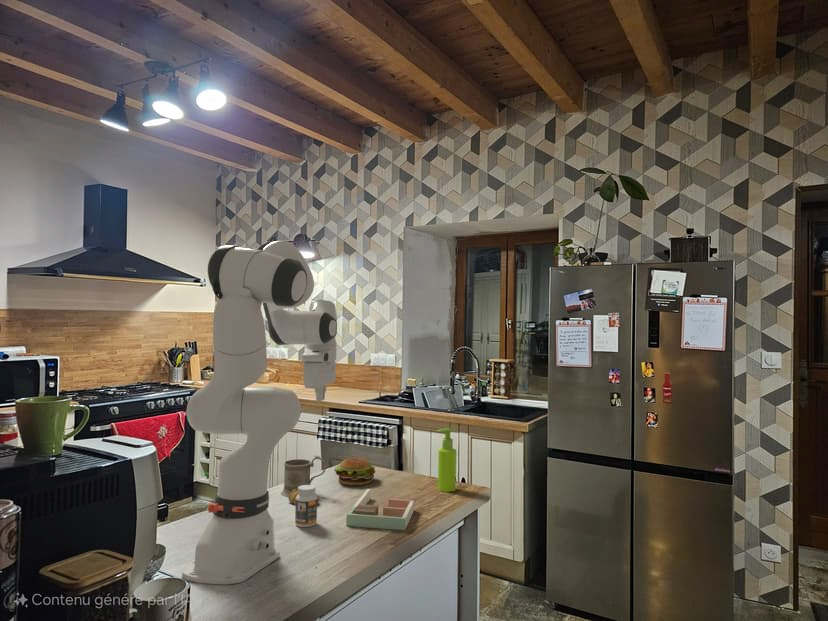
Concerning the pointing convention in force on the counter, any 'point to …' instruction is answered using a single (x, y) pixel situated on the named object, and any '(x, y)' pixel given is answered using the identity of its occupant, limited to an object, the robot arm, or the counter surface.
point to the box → (392, 516)
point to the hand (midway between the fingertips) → (320, 400)
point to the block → (366, 509)
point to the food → (355, 471)
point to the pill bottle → (306, 506)
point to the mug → (298, 474)
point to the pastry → (294, 494)
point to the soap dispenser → (447, 464)
